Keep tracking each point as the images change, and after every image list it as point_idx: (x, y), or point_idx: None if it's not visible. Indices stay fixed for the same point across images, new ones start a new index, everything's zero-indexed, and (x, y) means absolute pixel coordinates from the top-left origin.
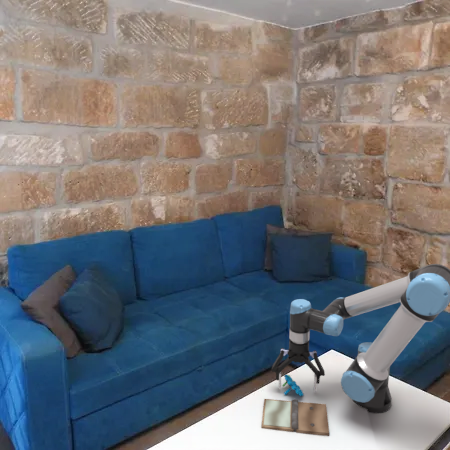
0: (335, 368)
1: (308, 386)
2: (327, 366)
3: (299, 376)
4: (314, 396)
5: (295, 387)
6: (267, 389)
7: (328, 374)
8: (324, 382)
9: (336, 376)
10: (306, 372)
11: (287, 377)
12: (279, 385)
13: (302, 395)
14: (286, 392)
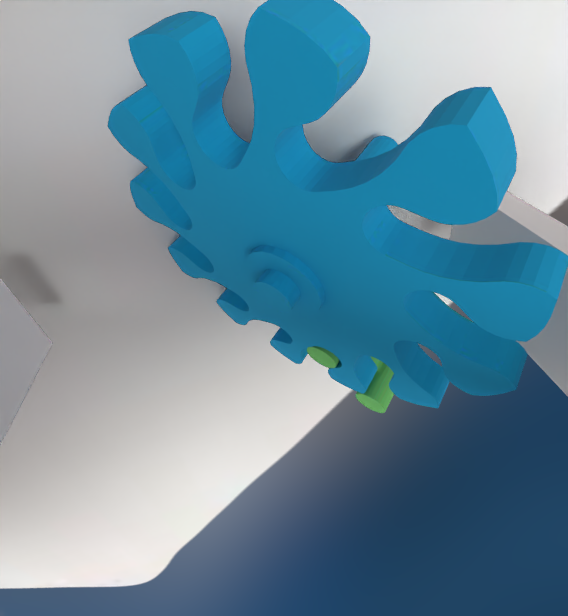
0: (65, 536)
1: (159, 360)
2: (120, 531)
3: (264, 426)
4: (19, 241)
5: (254, 174)
6: (558, 192)
7: (76, 496)
8: (54, 437)
9: (12, 501)
10: (226, 466)
11: (457, 348)
12: (515, 202)
13: (142, 173)
14: (374, 156)
